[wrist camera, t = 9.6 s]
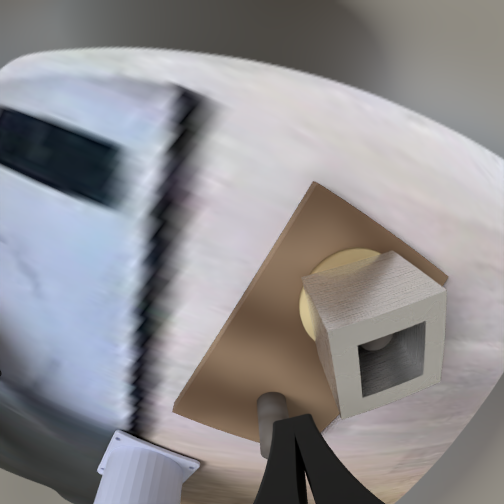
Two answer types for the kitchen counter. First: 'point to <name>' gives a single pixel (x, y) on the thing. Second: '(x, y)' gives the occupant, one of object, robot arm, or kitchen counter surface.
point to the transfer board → (285, 326)
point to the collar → (377, 330)
